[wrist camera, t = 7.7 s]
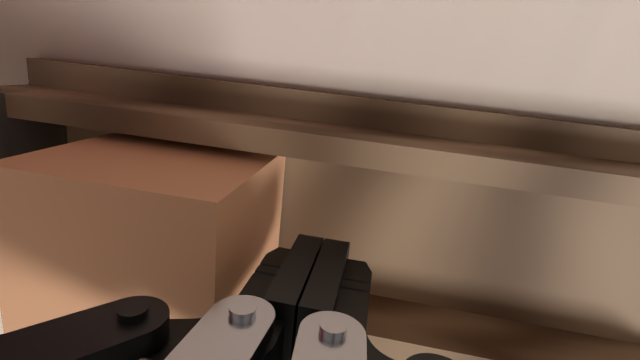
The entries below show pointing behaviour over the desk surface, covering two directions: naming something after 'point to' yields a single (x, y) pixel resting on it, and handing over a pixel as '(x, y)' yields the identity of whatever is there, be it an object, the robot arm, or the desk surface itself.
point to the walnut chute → (404, 201)
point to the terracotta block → (132, 225)
